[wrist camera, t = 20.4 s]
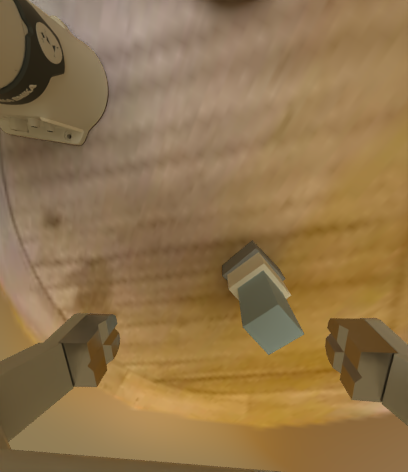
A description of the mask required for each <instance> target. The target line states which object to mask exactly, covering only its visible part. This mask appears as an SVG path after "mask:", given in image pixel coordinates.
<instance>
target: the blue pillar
mask: <svg viewBox="0 0 408 472" xmlns="http://www.w3.org/2000/svg"><path fill="white" fill-rule="evenodd" d="M238 295H239V302H240V310H241V317H242V324H243V328H244V329H245V330H246V331H247V332H248V333H249V334H250V335H251V336H252V337H253V339H254V340H255V341H256V342H257V343H258V344H259V345H260V346H261V347H262V348H263V349H264V350H265V351H266V353H267V354H268V355H270V354H271V353H273V352H275V351H276V350H278V349H280V348H281V347H283V346H285V345H287V344H288V343H290V342H292V341H293V340H295V339H297V338H299V337H300V336H302V335H304V333H303V331H302V329H301V327H300V325H299V323H298V321H297V319H296V317H295V315H294V314H293V312H292V310H291V308H290V306H289V304H288V302H287V300H286V298H285V296H284V294H283V293H282V292H281V290H280V289H279V288H278V287H277V286H276V285H275V283H274V282H273V281H272V280H271V279H270V278H269V276H268V275H267V274H266V273H265V272H264V271H261V272H260V273H259V274H257V275H256V276H254V277H253V278H252V279H250V280H249V281H247V282H246V283H245V284H243V285H242V286H240V287H239V288H238Z"/></svg>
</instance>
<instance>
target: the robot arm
mask: <svg viewBox="0 0 408 472" xmlns="http://www.w3.org/2000/svg"><path fill="white" fill-rule="evenodd" d="M107 97H108V85H107V78H106V74H105V71H104V69H103V66H102V64H101V62H100V60H99V59H98V57H97V56H96V54H95V53H94V52H93V51H92V49H91V48H90V47H88V46H87V45H86V44H85V43H83V42H82V41H80V40H79V39H77V38H76V37H74V36H73V35H72V34H71V32H70V31H69V29H68V28H67V27H66V25H65V24H64V23H63V22H62V21H61V20H60V19H58V18H57V17H56V16H48V15H47V14H46V13H45V12H43V11H42V10H41V9H39V8H38V7H37V6H35V5H34V4H33V3H32V2H30V1H29V0H0V128H1V129H2V130H3V131H4V132H5V133H8V134H11V135H16V136H22V137H28V138H34V139H41V140H47V141H53V142H60V143H66V144H72V145H82V144H83V143H84V141H85V139H86V137H87V134H88V131H89V130H90V129H91V127H92V126H93V125H95V124H96V123H97V121H98V120H99V119H100V117H101V116H102V114H103V112H104V110H105V107H106V103H107ZM70 135H71V139H70ZM116 325H117V320H116V316H114V315H113V314H92V313H90V314H88V313H77V314H74V315H73V316H72V317H71V318H70V319H69V320H67V321H66V322H65V323H64V324H63V325H62V326H61V327H60V328H59V329H58V330H57V331H55V332H54V333H53V334H52V335H51V336H50V337H49V338H48V339H47V340H46V341H45V342H43V343H38V344H35V345H33V346H31V347H29V348H27V349H25V350H23V351H21V352H19V353H17V354H15V355H13V356H11V357H9V358H7V359H4V360H2V361H0V472H278V471H266V470H254V469H241V468H229V467H218V466H205V465H192V464H181V463H169V462H157V461H145V460H132V459H120V458H108V457H96V456H84V455H71V454H59V453H47V452H35V451H23V450H11V448H10V445H9V443H8V442H9V441H10V440H11V439H12V438H14V437H15V436H16V435H17V434H19V433H20V432H21V431H22V430H23V429H25V428H26V427H27V426H28V425H29V424H30V423H32V422H33V421H34V420H35V419H37V418H38V417H39V416H40V415H41V414H43V413H44V412H45V411H46V410H47V409H49V408H50V407H51V406H52V405H54V404H55V403H56V402H57V401H58V400H60V399H61V398H62V397H63V396H64V395H66V394H67V393H68V392H69V391H70V390H72V389H73V387H97V386H98V384H99V383H100V381H101V379H102V378H103V376H104V374H105V373H106V371H107V364H108V363H109V362H110V361H112V360H113V359H114V358H115V356H116V354H117V352H118V349H119V345H120V336H119V332H118V331H117V330H116V329H115V326H116ZM327 328H328V330H329V331H330V332H331V334H330V335H329V336H328V337H327V338H326V343H325V348H326V354H327V357H328V360H329V362H330V364H331V365H332V367H333V368H334V369H335V370H337V371H338V372H340V373H341V375H340V381H341V383H342V384H343V386H344V388H345V389H346V391H347V393H348V394H349V396H350V398H351V399H352V400H360V401H372V402H382V404H383V405H384V406H385V407H386V408H387V409H389V410H390V411H391V412H392V413H393V414H394V415H396V416H397V417H398V418H399V419H400V420H402V421H403V422H404V423H405V424H406V425H408V344H407V343H405V342H404V341H403V340H402V339H401V338H400V337H399V336H398V335H396V334H395V333H394V332H393V331H392V330H391V329H390V328H389V327H388V326H386V325H385V324H384V323H383V322H382V321H381V320H379V319H377V318H360V319H341V318H330V320H329V322H328V327H327Z"/></svg>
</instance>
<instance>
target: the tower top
mask: <svg viewBox="0 0 408 472" xmlns="http://www.w3.org/2000/svg"><path fill="white" fill-rule="evenodd" d="M261 271H264V272H265V273H266V274H267V275H268V276H269V278H270V279H271V280H272V281H273V282H274V283H275V285H276V286H277V287H278V288H279V289H280V290H281V292H282V293H283V294H284V296H285V298H288V297H290V296H291V294H290V293H289V291H288V289H287V288H286V286H285V284H284V282H283V281H282V279H281V278H280V277H279V276H278V275H277V273H276V272H275V271H274V270H273V269H272V268H271V266H270V265H269V264H268V263H267V262H266V260H265V259H264V258H263V257H262V256H261V254H260V253H259V252H258V253H257V254H255V255H254V256H253V257H251V258H250V259H248V260H247V261H246V262H244V263H243V264H242V265H240V266H239V267H237V268H236V269H235V270H233V271H232V272H231V273H229V274H228V275H227V276H228V289H229V290H230V291H231V292H232V294H233V295H234V296H235V297H236V298H237V299H238V300H239V295H238V288H239V287H240V286H242V285H243V284H245V283H246V282H247V281H249V280H250V279H252V278H253V277H254V276H256V275H257V274H259V273H260V272H261Z"/></svg>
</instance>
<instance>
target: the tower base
mask: <svg viewBox="0 0 408 472" xmlns="http://www.w3.org/2000/svg"><path fill="white" fill-rule="evenodd" d="M258 252H259V253H260V254H261V256H262V257H263V258H264V259H265V260H266V262H267V263H268V264H269V265H270V266H271V268H272V269H273V270H274V271H275V272H276V273H277V275H278V276H279V277H280V278H281V279H282V281H284V280H285V277H284V276H283V274H282V273H281V271H280V269H279V268H278V267H277V266H276V265H275V264H274V263H273V262H272V261H271V259H270V258H269V257H268V256H267V255H266V254H265V253H264V252H263V251H262V250H261V249H260V248H259V247H258V246H257V245H256V244H255V243H254V241H253V240H252V241H251V242H249V243H248V244H247V245H246V246H245V247H243V248H242V249H241V250H240V251H239V252H238V253H236V254H235V255H234V256H233V257H232V258H231V259H229V260H228V261H227V262H226V263H225V264H223V265H222V276H223V277H224V278H225V279H226V280H227V281H228V276H227V275H228V274H229V273H231V272H232V271H233V270H235V269H236V268H237V267H239V266H240V265H242V264H243V263H244V262H246V261H247V260H248V259H250V258H251V257H253V256H254V255H255V254H257V253H258Z"/></svg>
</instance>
